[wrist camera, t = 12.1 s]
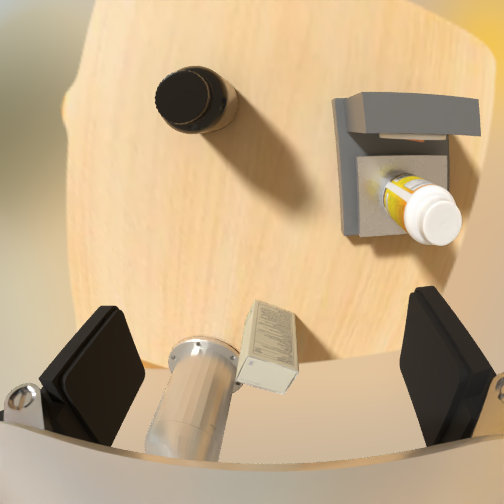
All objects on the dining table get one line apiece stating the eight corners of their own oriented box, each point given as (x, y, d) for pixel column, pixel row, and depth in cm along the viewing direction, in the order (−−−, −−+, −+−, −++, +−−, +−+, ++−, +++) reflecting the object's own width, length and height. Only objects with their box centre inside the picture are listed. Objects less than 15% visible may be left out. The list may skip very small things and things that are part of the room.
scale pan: (438, 225, 35) (445, 231, 34) (356, 231, 37) (360, 237, 35) (439, 153, 32) (447, 155, 30) (353, 155, 34) (357, 156, 32)
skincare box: (244, 321, 46) (232, 380, 35) (255, 297, 44) (245, 354, 33) (285, 336, 46) (283, 396, 35) (297, 312, 44) (300, 372, 33)
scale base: (440, 223, 37) (481, 255, 27) (341, 230, 39) (359, 267, 29) (438, 101, 32) (485, 98, 22) (331, 99, 34) (350, 89, 23)
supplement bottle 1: (180, 130, 37) (138, 133, 26) (186, 76, 34) (146, 58, 23) (236, 134, 36) (215, 138, 25) (243, 78, 34) (224, 58, 23)
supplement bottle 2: (404, 230, 34) (441, 267, 25) (371, 199, 33) (401, 229, 24) (434, 194, 32) (479, 220, 23) (401, 161, 31) (443, 177, 22)
